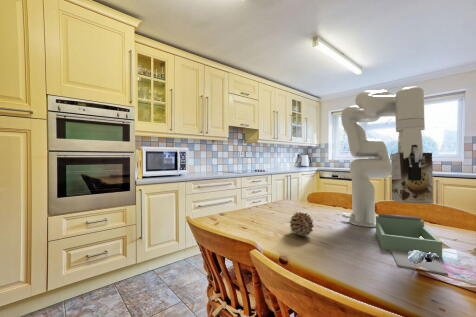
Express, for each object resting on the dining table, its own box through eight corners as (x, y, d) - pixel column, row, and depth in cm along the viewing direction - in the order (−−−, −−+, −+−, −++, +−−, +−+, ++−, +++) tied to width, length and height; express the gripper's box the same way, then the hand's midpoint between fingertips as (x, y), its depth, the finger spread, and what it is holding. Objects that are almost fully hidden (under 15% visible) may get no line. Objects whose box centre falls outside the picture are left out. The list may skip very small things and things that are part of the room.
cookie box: (402, 203, 70) (401, 152, 70) (391, 200, 76) (390, 153, 77) (434, 204, 69) (433, 152, 69) (420, 200, 75) (418, 153, 75)
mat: (397, 266, 64) (397, 264, 64) (391, 251, 75) (391, 249, 75) (448, 275, 59) (448, 273, 59) (433, 257, 70) (433, 256, 70)
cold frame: (381, 249, 77) (381, 225, 77) (375, 232, 95) (375, 213, 95) (442, 258, 70) (441, 231, 70) (423, 238, 88) (423, 217, 88)
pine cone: (318, 242, 83) (318, 216, 83) (292, 242, 84) (292, 215, 84) (305, 225, 105) (305, 204, 105) (284, 225, 106) (284, 204, 106)
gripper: (391, 130, 83) (392, 178, 82) (401, 122, 67) (403, 180, 66) (416, 129, 79) (417, 178, 79) (433, 120, 64) (435, 181, 63)
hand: (411, 179), depth 73 cm, fingers closed on cookie box, 7 cm apart
